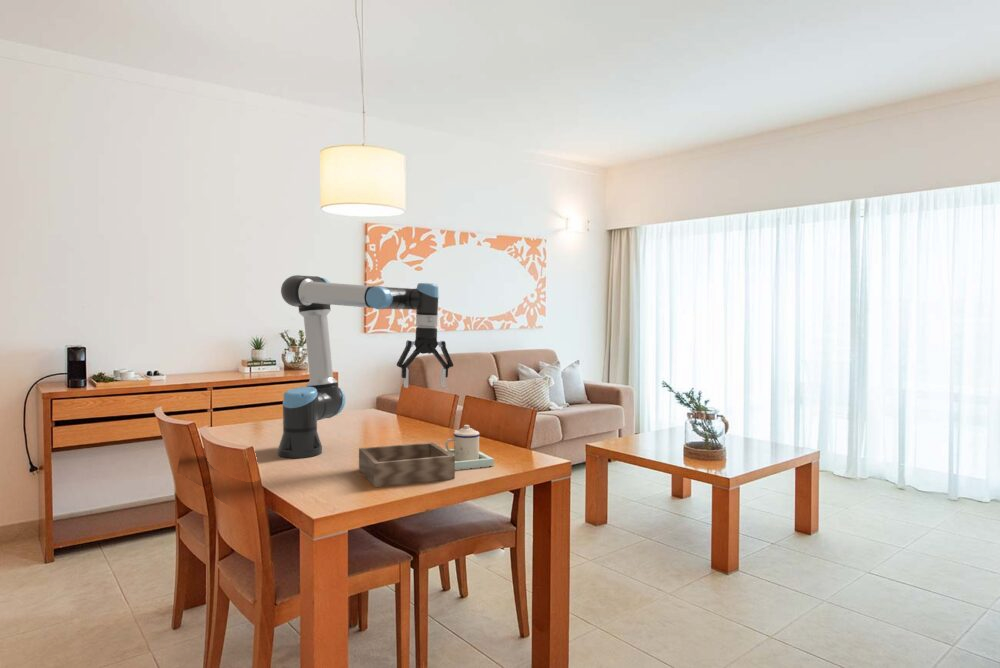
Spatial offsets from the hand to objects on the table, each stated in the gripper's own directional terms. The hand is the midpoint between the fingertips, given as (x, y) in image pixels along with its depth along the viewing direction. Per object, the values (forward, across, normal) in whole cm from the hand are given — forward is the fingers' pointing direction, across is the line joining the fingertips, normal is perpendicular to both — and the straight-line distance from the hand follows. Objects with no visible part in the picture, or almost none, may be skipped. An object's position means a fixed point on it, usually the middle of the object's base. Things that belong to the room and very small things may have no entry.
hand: (424, 387), depth 224 cm
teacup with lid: (+24, +10, -13) cm, 29 cm away
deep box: (+25, -12, -21) cm, 35 cm away
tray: (+24, +10, -13) cm, 29 cm away
